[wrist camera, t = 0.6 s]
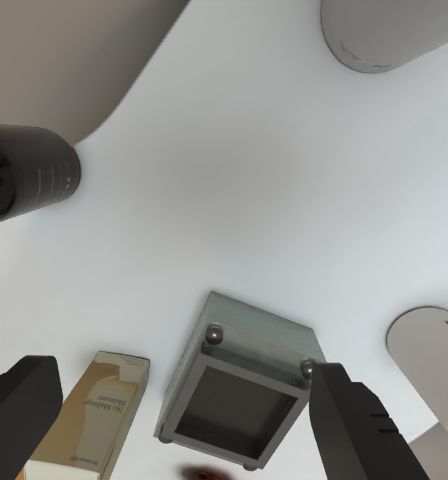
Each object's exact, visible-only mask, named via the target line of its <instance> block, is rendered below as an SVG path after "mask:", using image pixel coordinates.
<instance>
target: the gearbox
mask: <svg viewBox="0 0 448 480" xmlns="http://www.w3.org/2000/svg"><path fill="white" fill-rule="evenodd" d="M315 362H320V363H327V362H326V360H325V357H324V355H323V352H322V350H321V348H320V345H319V343H318V341H317V338H316V336H315V334H314V331H313V330H312V329H310V328H307V327H304V326H302V325H299V324H297V323H294V322H291V321H289V320H286V319H283V318H281V317H278V316H276V315H273V314H270V313H268V312H265V311H263V310H260V309H257V308H255V307H252V306H249V305H247V304H244V303H242V302H239V301H236V300H234V299H231V298H229V297H226V296H223V295H221V294H218V293H215V292H213V291H211V293H210V295H209V298H208V300H207V302H206V304H205V307H204V309H203V311H202V313H201V316H200V318H199V320H198V322H197V325H196V327H195V329H194V331H193V334H192V336H191V338H190V340H189V343H188V345H187V347H186V349H185V352H184V354H183V356H182V358H181V361H180V363H179V365H178V367H177V370H176V372H175V374H174V376H173V378H172V381H171V383H170V385H169V387H168V390H167V392H166V394H165V396H164V400H163V403H162V407H161V410H160V414H159V417H158V421H157V424H156V428H155V431H154V435H153V436H154V437H157V438H158V439H159V440H160V441H161V442H162V443H166V444H167V443H171V442H172V443H175V444H178V445H181V446H184V447H187V448H190V449H193V450H196V451H199V452H202V453H206V454H209V455H212V456H215V457H218V458H221V459H224V460H227V461H230V462H233V463H236V464H239V465H242V466H243V467H244V469H246V470H248V471H254V470H256V469H257V468H259V469H262V470H263V468H264V467H265V465H266V464H267V462H268V461H269V459H270V458H271V456H272V455H273V453H274V452H275V450H276V449H277V447H278V446H279V444H280V443H281V441H282V440H283V439H284V437H285V436H286V434H287V433H288V431H289V430H290V428H291V427H292V425H293V424H294V422H295V421H296V419H297V418H298V416H299V415H300V413H301V412H302V410H303V409H304V408H305V406H306V405H307V403H308V402H309V399H310V389H311V379H312V369H313V364H314V363H315Z"/></svg>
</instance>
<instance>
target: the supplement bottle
mask: <svg viewBox="0 0 448 480" xmlns="http://www.w3.org/2000/svg"><path fill="white" fill-rule="evenodd" d="M78 181H79V164H78V160H77V158H76V155H75V153H74V152H73V150H72V148H71V147H70V146H69V145H68V143H67V142H66V141H65V140H64V139H63V138H61V137H60V136H59V135H57V134H55V133H54V132H52V131H50V130H47V129H44V128H38V127H30V126H19V125H6V124H0V222H1V221H4V220H7V219H10V218H13V217H16V216H19V215H22V214H25V213H28V212H31V211H34V210H37V209H40V208H42V207H45V206H48V205H51V204H54V203H57V202H59V201H62V200H64V199H66V198H67V197H69V196H70V195H71V194H72V193H73V191H74V190H75V188H76V187H77V184H78Z"/></svg>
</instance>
